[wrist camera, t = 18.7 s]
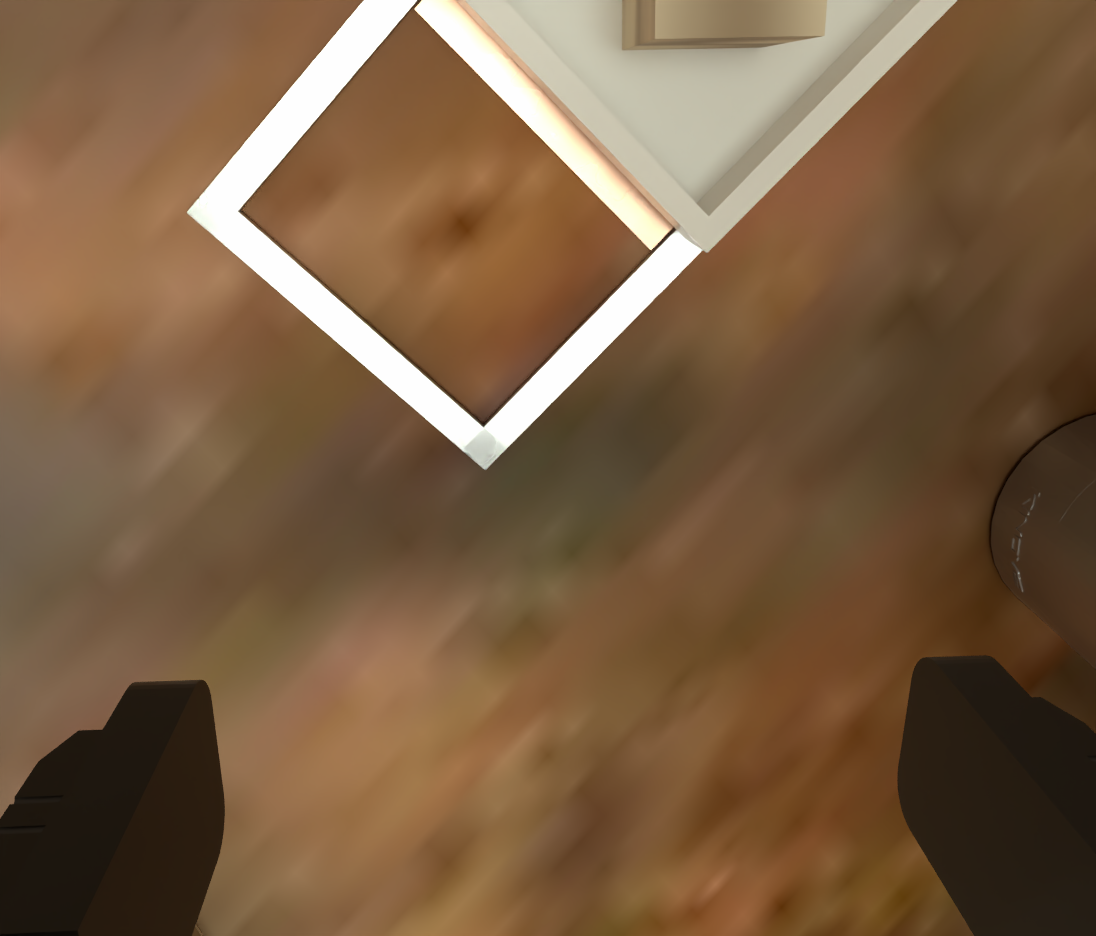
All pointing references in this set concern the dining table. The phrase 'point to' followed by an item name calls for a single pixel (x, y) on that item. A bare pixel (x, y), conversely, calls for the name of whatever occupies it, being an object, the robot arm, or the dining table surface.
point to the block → (719, 23)
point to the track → (320, 304)
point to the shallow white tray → (702, 96)
